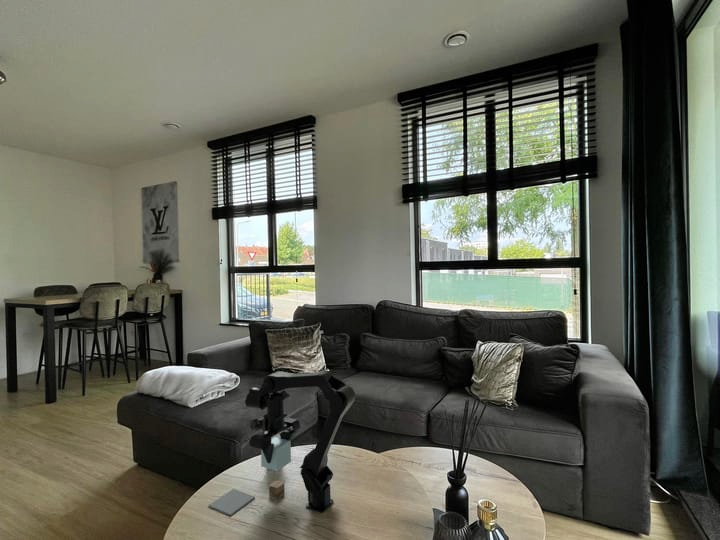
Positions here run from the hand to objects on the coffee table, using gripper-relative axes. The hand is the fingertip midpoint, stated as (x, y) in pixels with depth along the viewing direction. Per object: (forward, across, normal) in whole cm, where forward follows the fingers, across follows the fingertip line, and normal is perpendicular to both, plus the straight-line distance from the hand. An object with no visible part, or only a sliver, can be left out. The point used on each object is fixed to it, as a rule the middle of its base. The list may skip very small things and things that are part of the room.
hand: (276, 458), depth 122 cm
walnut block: (+12, 0, 0) cm, 12 cm away
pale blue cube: (+2, 0, 0) cm, 2 cm away
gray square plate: (+12, +10, -10) cm, 19 cm away
